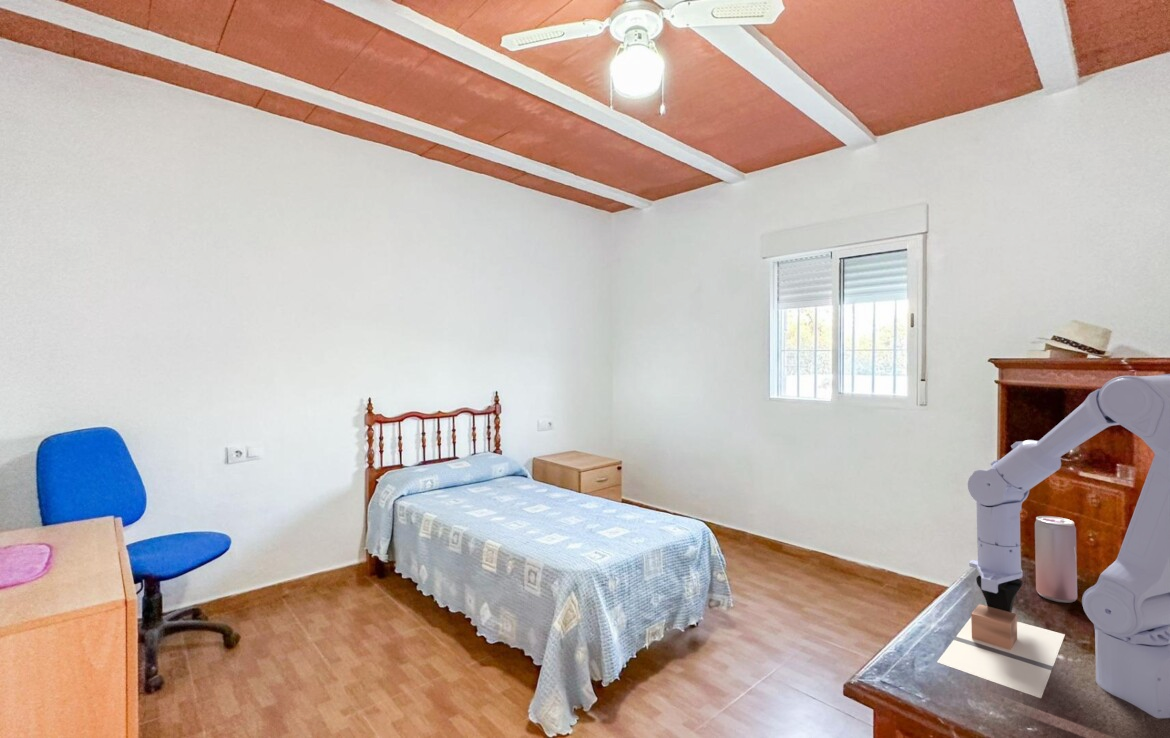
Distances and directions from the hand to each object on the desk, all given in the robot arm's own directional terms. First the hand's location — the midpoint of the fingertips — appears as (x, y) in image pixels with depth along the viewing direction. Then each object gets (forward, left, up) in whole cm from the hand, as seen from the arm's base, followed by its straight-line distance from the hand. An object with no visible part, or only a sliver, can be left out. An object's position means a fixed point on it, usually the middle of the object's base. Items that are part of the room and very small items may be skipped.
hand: (1000, 622), depth 88 cm
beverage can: (+13, -22, -3) cm, 26 cm away
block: (-2, +3, -1) cm, 4 cm away
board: (-5, +4, -2) cm, 7 cm away
